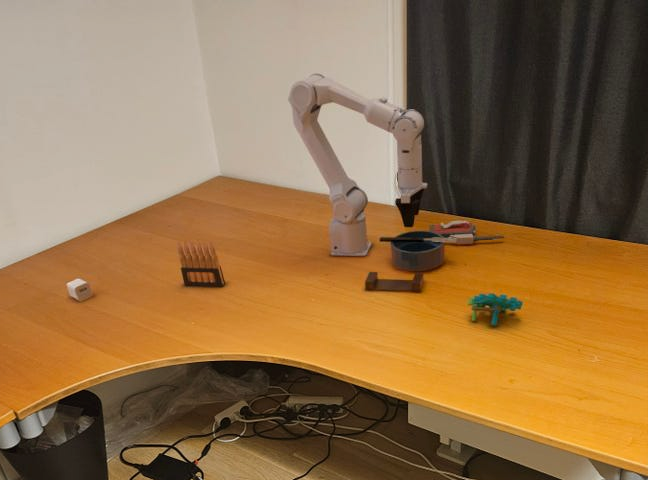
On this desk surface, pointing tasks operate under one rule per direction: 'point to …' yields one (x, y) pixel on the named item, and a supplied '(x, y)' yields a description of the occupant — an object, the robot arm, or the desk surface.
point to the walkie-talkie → (460, 232)
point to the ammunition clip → (200, 266)
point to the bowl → (417, 252)
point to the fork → (419, 240)
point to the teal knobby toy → (493, 305)
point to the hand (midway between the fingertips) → (411, 220)
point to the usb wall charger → (79, 289)
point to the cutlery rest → (394, 283)
